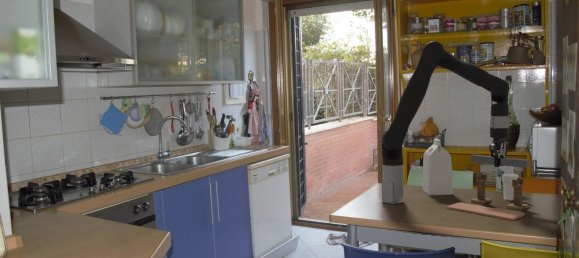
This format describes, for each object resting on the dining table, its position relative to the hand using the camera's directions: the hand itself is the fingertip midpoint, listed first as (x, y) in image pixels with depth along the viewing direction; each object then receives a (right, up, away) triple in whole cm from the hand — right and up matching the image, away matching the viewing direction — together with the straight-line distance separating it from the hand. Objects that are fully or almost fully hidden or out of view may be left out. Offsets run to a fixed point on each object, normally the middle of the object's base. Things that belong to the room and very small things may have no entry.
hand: (498, 166), depth 205 cm
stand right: (+6, -17, -5) cm, 19 cm away
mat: (-10, -18, -9) cm, 23 cm away
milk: (-17, -15, +30) cm, 37 cm away
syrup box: (+14, -15, +25) cm, 32 cm away
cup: (+10, -16, +11) cm, 21 cm away
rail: (0, +1, 0) cm, 1 cm away
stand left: (-5, -16, +7) cm, 19 cm away
